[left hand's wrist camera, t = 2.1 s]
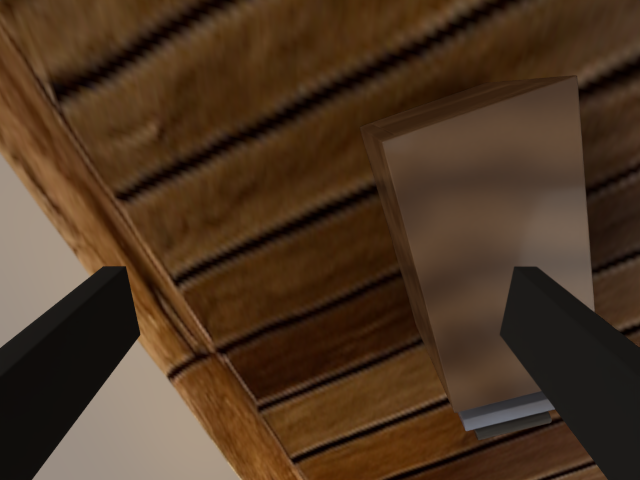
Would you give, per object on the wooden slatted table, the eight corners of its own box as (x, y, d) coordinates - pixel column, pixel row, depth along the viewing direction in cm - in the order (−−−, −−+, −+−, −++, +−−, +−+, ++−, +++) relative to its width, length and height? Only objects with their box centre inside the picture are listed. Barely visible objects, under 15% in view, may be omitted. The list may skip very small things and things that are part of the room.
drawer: (530, 374, 37) (590, 451, 29) (443, 397, 38) (478, 477, 30) (492, 142, 29) (561, 160, 21) (383, 178, 30) (408, 209, 22)
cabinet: (520, 297, 35) (600, 376, 25) (416, 327, 36) (454, 413, 26) (486, 82, 28) (577, 74, 18) (359, 126, 29) (381, 141, 19)
